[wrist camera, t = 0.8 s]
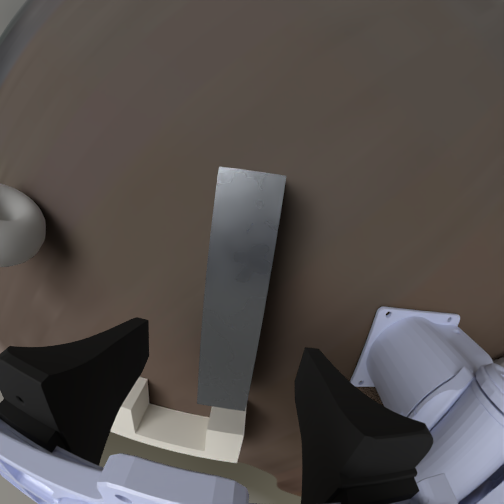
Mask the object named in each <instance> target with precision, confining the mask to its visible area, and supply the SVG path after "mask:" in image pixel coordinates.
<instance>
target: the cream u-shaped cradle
mask: <svg viewBox="0 0 504 504" xmlns="http://www.w3.org/2000/svg"><path fill="white" fill-rule="evenodd" d="M246 406H247V405H246ZM245 418H246V410H245V411H239V410H232V409H226V408H219V407H213V406H212V409H211V413H210V417H204V416H199V415H194V414H190V413H185V412H181V411H177V410H173V409H169V408H165V407H161V406H157V405H153V404H150V403H149V391H148V379H145V378H142V377H139V378H138V380H137V381H136V383H135V384H134V386H133V388H132V389H131V391H130V392H129V394H128V396H127V397H126V399H125V400H124V402H123V404H122V406H121V407H120V409H119V411H118V414H117V416H116V418H115V421H114V423H113V425H112V428H111V430H110V431H111V432H113V433H116V434H119V435H122V436H124V437H127V438H130V439H134V440H136V441H140V442H143V443H146V444H149V445H153V446H157V447H160V448H164V449H167V450H171V451H175V452H179V453H184V454H188V455H193V456H198V457H203V458H208V459H214V460H219V461H227V462H233V463H237V460H238V457H239V453H240V449H241V445H242V441H243V437H244V430H245Z"/></svg>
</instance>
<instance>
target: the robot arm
mask: <svg viewBox="0 0 504 504" xmlns="http://www.w3.org/2000/svg"><path fill="white" fill-rule="evenodd" d="M387 312H390V313H389V314H388V315H386V313H387ZM448 318H449V320H448ZM459 321H460V316H459V315H458V314H451V313H440V312H430V311H420V310H410V309H401V308H392V307H380V308H379V309H378V310H377V312H376V315H375V318H374V321H373V324H372V327H371V329H370V332H369V335H368V338H367V340H366V343H365V346H364V348H363V351H362V353H361V356H360V359H359V361H358V363H357V366H356V368H355V371H354V373H353V375H352V378H351V380H350V382H349V381H348V380H347V379H346V378H345V377H344V376H343V375H342V374H341V373H340V372H339V371H338V370H337V369H336V368H335V367H334V366H333V364H332V363H331V362H330V361H329V360H328V359H327V358H326V357H325V356H324V354H323V353H322V352H321V351H320V350H319V349H315V348H305V350H304V353H303V357H302V360H301V363H300V366H299V369H298V373H297V376H296V379H295V402H296V408H297V415H298V420H299V426H300V432H301V439H302V498H301V504H504V367H502V366H500V365H498V364H496V363H493V361H492V359H491V357H490V356H489V355H488V354H487V353H486V352H485V351H484V350H483V349H482V348H481V347H480V346H479V345H478V344H477V343H476V342H474V341H473V340H472V339H471V338H470V337H469V336H468V335H467V334H466V333H464V332H463V331H462V330H461V329H460V328H459V327H458V323H459ZM148 357H149V332H148V320H145V319H141V318H137V317H136V318H133V319H131V320H129V321H126V322H124V323H122V324H120V325H118V326H116V327H113V328H111V329H109V330H107V331H104V332H102V333H99V334H97V335H94V336H91V337H89V338H86V339H83V340H79V341H75V342H72V343H67V344H61V345H55V346H47V347H14V346H9V347H8V348H7V349H6V350H4V351H3V352H2V353H1V354H0V391H1V393H2V395H3V397H4V400H3V401H2V402H1V403H0V475H1V476H3V477H4V478H5V479H6V480H7V481H9V482H10V483H11V484H12V485H14V486H15V487H16V488H17V489H19V490H20V491H21V492H23V493H24V494H25V495H27V496H28V497H29V498H31V499H32V500H33V501H35V502H36V503H38V504H254V503H248V501H249V494H248V491H247V488H246V487H244V486H243V485H241V484H239V483H238V482H236V481H234V480H232V479H228V478H224V477H221V476H217V475H211V474H206V473H200V472H195V471H190V470H186V469H181V468H177V467H173V466H169V465H165V464H161V463H158V462H154V461H151V460H147V459H144V458H141V457H137V456H133V455H128V454H124V453H120V454H116V455H111V456H110V457H109V459H108V461H107V463H106V465H105V467H104V468H103V467H100V466H99V463H100V459H101V455H102V453H103V450H104V447H105V444H106V441H107V438H108V436H109V433H110V430H111V428H112V425H113V423H114V421H115V418H116V416H117V414H118V411H119V409H120V407H121V406H122V404H123V402H124V400H125V399H126V397H127V396H128V394H129V392H130V391H131V389H132V388H133V386H134V384H135V383H136V381H137V380H138V378H139V376H140V375H141V373H142V371H143V369H144V367H145V364H146V362H147V359H148ZM360 381H362V382H360ZM356 387H375V388H376V390H377V392H378V394H379V396H380V398H381V401H382V403H383V405H384V406H382V405H380V404H379V403H377V402H375V401H374V400H372V399H371V398H369V397H368V396H367V395H365V394H364V393H362V392H361V391H360V390H359V389H357V388H356Z"/></svg>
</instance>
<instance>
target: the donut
mask: <svg viewBox="0 0 504 504" xmlns="http://www.w3.org/2000/svg"><path fill="white" fill-rule="evenodd" d="M45 235H46V223H45V219H44V216H43V214H42V212H41V210H40V208H39V207H38V206H37V204H36V203H35V202H34V201H33V200H32V199H30V198H29V197H28V196H26V195H25V194H24V193H22V192H21V191H19V190H17V189H15V188H13V187H10V186H7V185H4V184H0V267H9V266H13V265H17V264H21V263H24V262H26V261H27V260H29V259H30V258H32V257H34V256H35V255H36V254H37V253H38V251H39V249H40V248H41V246H42V244H43V242H44V240H45Z"/></svg>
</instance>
